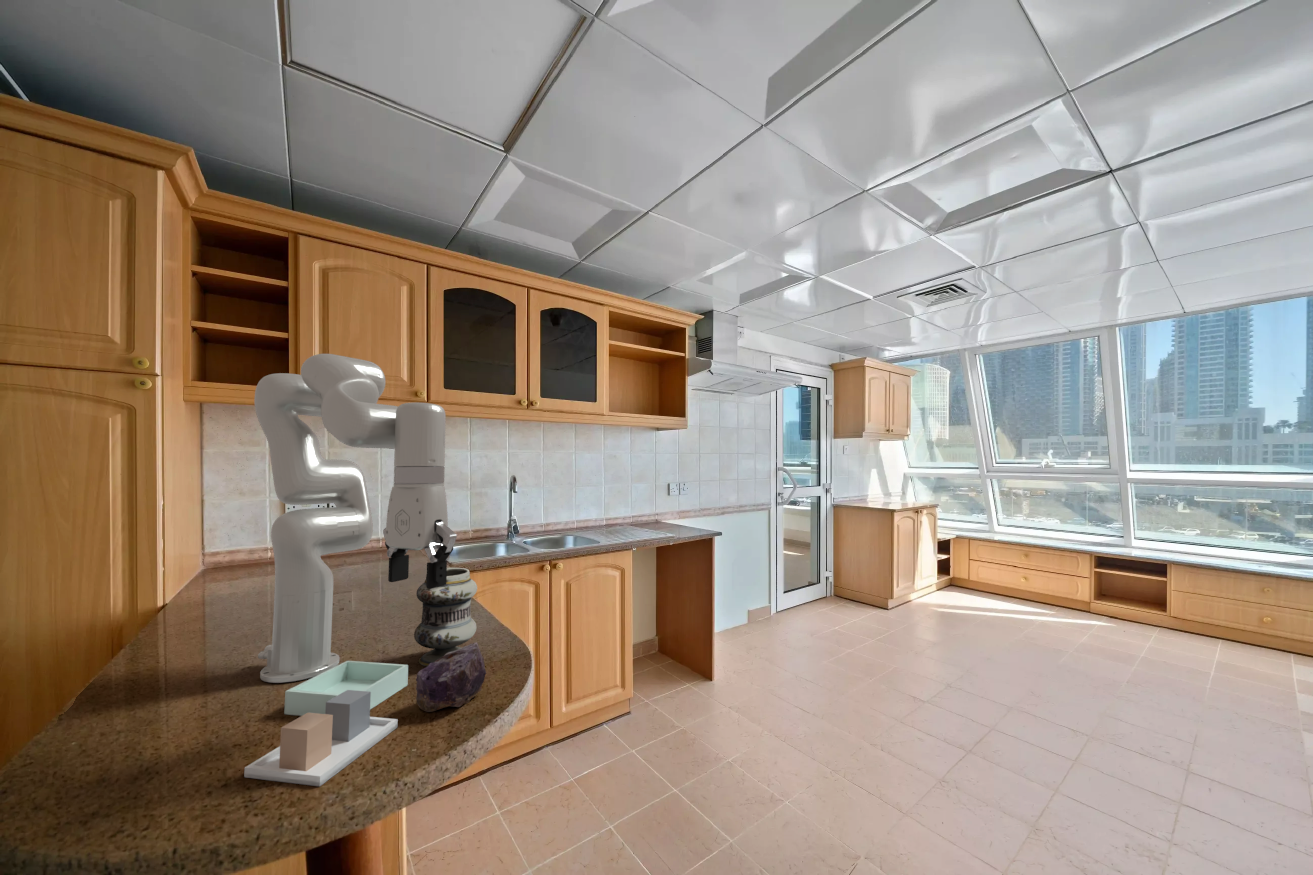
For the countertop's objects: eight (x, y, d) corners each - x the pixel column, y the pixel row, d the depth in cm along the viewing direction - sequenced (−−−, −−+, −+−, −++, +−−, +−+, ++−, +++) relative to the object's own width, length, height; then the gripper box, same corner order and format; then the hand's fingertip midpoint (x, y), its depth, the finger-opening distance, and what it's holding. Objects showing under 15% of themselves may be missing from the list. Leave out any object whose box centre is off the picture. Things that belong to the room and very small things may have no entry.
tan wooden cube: (279, 768, 63) (281, 727, 63) (306, 751, 67) (307, 712, 67) (305, 771, 62) (307, 730, 63) (331, 753, 66) (332, 714, 67)
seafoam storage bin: (284, 713, 78) (285, 691, 78) (346, 680, 91) (347, 660, 91) (353, 720, 76) (354, 696, 76) (407, 684, 89) (408, 664, 89)
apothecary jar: (447, 673, 93) (449, 579, 95) (399, 665, 97) (402, 575, 98) (487, 651, 105) (489, 567, 106) (443, 644, 109) (445, 564, 110)
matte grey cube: (324, 739, 70) (325, 702, 70) (346, 724, 74) (347, 689, 74) (348, 741, 69) (349, 704, 70) (369, 726, 73) (370, 691, 74)
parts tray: (244, 777, 62) (244, 767, 62) (333, 721, 76) (333, 713, 76) (319, 786, 60) (320, 776, 60) (397, 727, 74) (397, 719, 74)
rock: (411, 713, 81) (446, 730, 75) (404, 664, 80) (438, 677, 75) (472, 677, 90) (507, 690, 85) (466, 633, 90) (501, 642, 84)
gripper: (366, 478, 80) (362, 582, 79) (433, 478, 72) (430, 595, 71) (408, 477, 87) (405, 574, 86) (474, 477, 79) (472, 584, 77)
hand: (416, 583), depth 78 cm, fingers open, 9 cm apart
